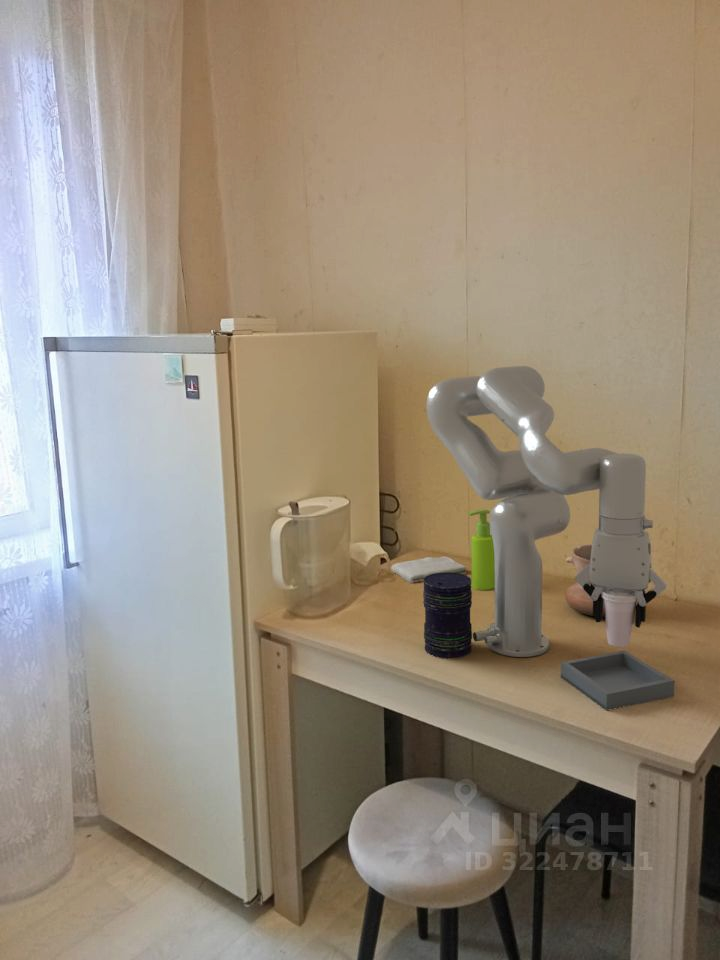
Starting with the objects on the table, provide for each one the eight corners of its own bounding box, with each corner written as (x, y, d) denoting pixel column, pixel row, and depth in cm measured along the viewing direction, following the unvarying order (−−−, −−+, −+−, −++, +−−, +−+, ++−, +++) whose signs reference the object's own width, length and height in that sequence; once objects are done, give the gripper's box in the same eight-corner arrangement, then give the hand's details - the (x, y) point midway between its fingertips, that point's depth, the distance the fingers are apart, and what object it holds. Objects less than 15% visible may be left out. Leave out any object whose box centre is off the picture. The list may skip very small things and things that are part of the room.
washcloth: (469, 575, 209) (469, 564, 208) (410, 586, 202) (410, 574, 201) (447, 563, 219) (447, 553, 219) (390, 573, 212) (389, 562, 212)
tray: (606, 710, 133) (606, 694, 133) (560, 677, 146) (561, 662, 146) (673, 696, 137) (674, 680, 137) (623, 664, 150) (624, 650, 150)
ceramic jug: (547, 609, 181) (549, 550, 178) (583, 593, 190) (585, 537, 187) (617, 631, 168) (620, 568, 164) (652, 613, 177) (655, 553, 174)
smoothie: (642, 649, 137) (645, 573, 134) (605, 650, 137) (608, 574, 134) (630, 635, 143) (633, 562, 140) (595, 636, 143) (597, 563, 141)
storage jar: (441, 635, 167) (440, 569, 165) (481, 646, 161) (481, 577, 158) (414, 651, 160) (413, 582, 157) (455, 663, 154) (454, 591, 151)
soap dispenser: (464, 585, 199) (463, 509, 196) (488, 581, 201) (488, 506, 198) (474, 592, 194) (473, 514, 190) (499, 588, 196) (499, 511, 192)
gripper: (676, 523, 135) (672, 621, 139) (575, 516, 143) (574, 609, 146) (672, 534, 129) (668, 636, 132) (566, 526, 136) (565, 623, 140)
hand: (618, 621), depth 139 cm, fingers closed on smoothie, 6 cm apart
